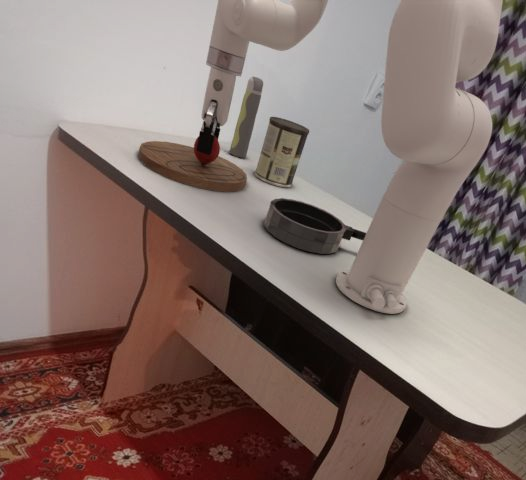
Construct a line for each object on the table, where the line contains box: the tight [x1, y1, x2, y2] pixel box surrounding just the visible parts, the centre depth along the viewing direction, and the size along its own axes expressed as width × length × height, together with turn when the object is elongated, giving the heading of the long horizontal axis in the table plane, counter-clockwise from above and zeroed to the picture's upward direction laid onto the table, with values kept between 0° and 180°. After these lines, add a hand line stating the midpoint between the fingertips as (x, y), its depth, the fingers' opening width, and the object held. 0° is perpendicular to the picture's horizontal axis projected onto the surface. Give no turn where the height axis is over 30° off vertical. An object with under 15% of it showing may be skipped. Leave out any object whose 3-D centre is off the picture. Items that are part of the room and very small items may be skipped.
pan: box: [263, 197, 347, 255], centre depth 91 cm, size 16×16×4 cm
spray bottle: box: [229, 76, 264, 159], centre depth 126 cm, size 5×5×20 cm
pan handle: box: [342, 224, 367, 242], centre depth 92 cm, size 2×12×2 cm, turn 87°
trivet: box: [137, 140, 248, 193], centre depth 107 cm, size 25×25×2 cm
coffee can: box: [254, 116, 310, 188], centre depth 117 cm, size 10×10×14 cm
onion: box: [193, 135, 221, 165], centre depth 103 cm, size 6×6×8 cm
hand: (206, 148), depth 103 cm, fingers open, 9 cm apart
